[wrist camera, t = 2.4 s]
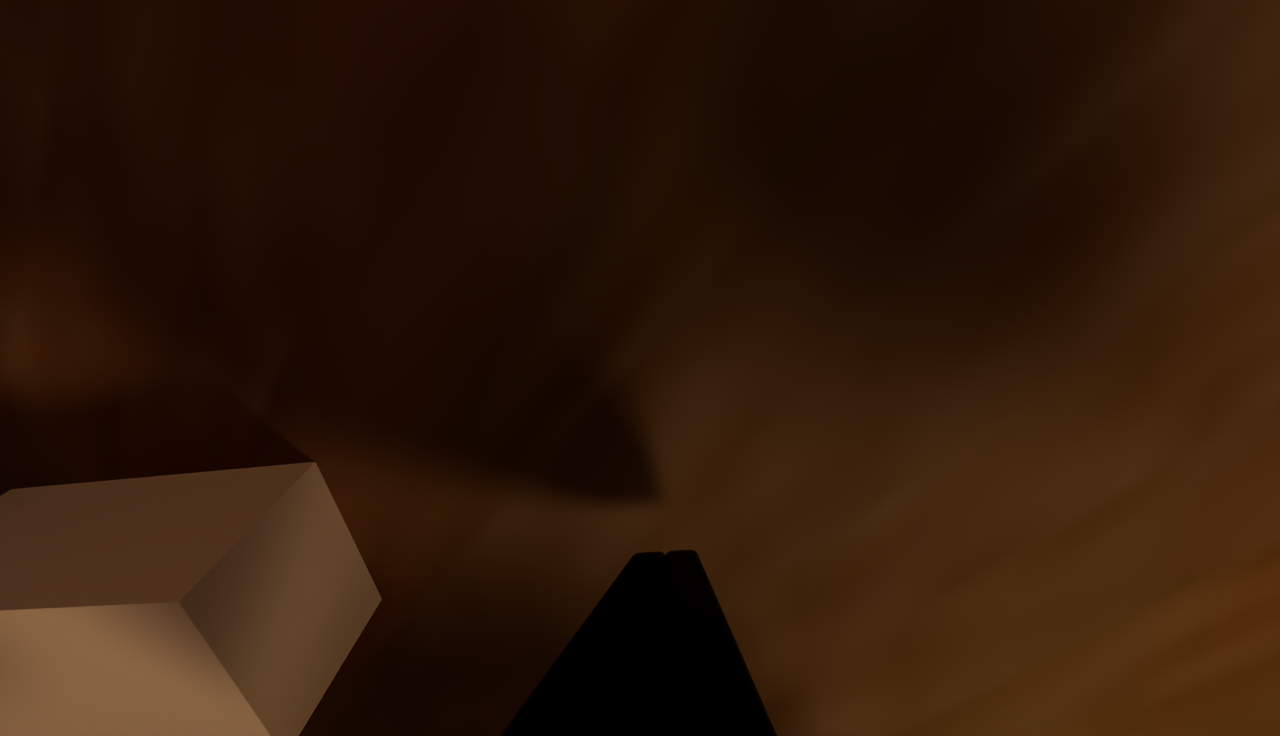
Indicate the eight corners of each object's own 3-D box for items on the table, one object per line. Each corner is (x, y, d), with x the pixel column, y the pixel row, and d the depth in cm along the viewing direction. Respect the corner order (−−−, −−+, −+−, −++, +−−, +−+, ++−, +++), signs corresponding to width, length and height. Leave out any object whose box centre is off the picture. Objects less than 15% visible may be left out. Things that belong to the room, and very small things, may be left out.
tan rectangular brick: (386, 590, 11) (285, 757, 9) (113, 604, 12) (-53, 756, 10) (321, 455, 10) (178, 601, 7) (21, 482, 11) (-200, 620, 8)
